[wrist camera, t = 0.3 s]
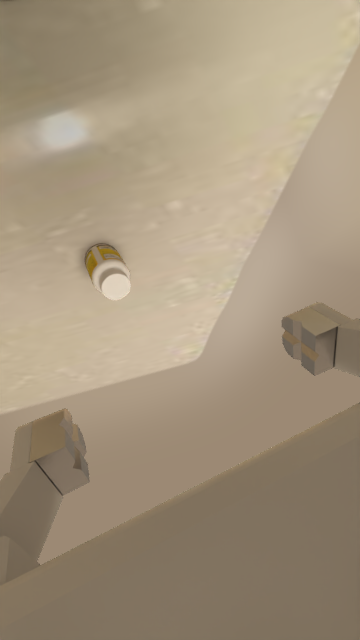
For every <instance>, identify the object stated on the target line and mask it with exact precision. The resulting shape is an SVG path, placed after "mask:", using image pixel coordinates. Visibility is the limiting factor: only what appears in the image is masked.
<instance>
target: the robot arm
mask: <svg viewBox="0 0 360 640" xmlns="http://www.w3.org/2000/svg"><path fill="white" fill-rule="evenodd" d="M282 327H283V328H284V329H285V332H284V334H283V336H282V341H283V345H284V348H285V350H286V351H287V353H288V354H289V355H290V356H291V357H292V358H293V359H298V360H301V364H302V366H303V367H304V368H305V369H307V370H308V371H309V372H310V373H311V374H313V375H314V376H316V375H318V374H320V373H322V372H325V371H327V370H329V369H332V368H334V367H335V369H338V370H341V371H344V372H347V373H350V374H353V375H355V376H359V377H360V319H355V320H353V319H351V318H348V317H347V316H345V315H343V314H341V313H340V312H338V311H336V310H334V309H332V308H330V307H328V306H326V305H325V304H323V303H319V302H317V303H314V304H312V305H310V306H308V307H306V308H304V309H301V310H299V311H297V312H294V313H292V314H290V315H288V316H285V317H283V319H282ZM85 454H86V446H85V442H84V439H83V435H82V433H81V431H80V429H79V427H78V425H76V424H73V423H72V416H71V414H70V412H69V411H68V409H62V410H59V411H57V412H54V413H52V414H49V415H47V416H44V417H42V418H39V419H37V420H34V421H32V422H30V423H27V424H25V425H22V426H20V427H18V428H17V429H16V431H15V437H14V445H13V452H12V460H11V467H10V472H9V473H7V474H5V475H4V476H3V478H2V479H1V480H0V640H360V403H358V404H356V405H354V406H352V407H350V408H348V409H346V410H344V411H342V412H340V413H338V414H336V415H334V416H333V417H330V418H328V419H326V420H324V421H322V422H320V423H319V424H317V425H315V426H313V427H311V428H309V429H307V430H305V431H303V432H301V433H299V434H297V435H295V436H293V437H291V438H289V439H287V440H285V441H283V442H281V443H279V444H277V445H275V446H274V447H272V448H270V449H268V450H266V451H264V452H262V453H260V454H258V455H256V456H254V457H252V458H250V459H248V460H246V461H244V462H242V463H240V464H238V465H236V466H234V467H232V468H230V469H228V470H226V471H224V472H222V473H221V474H219V475H217V476H215V477H213V478H211V479H209V480H207V481H205V482H203V483H201V484H199V485H197V486H195V487H193V488H191V489H189V490H187V491H185V492H183V493H181V494H179V495H177V496H175V497H174V498H172V499H169V500H168V501H166V502H164V503H162V504H160V505H158V506H156V507H154V508H152V509H150V510H148V511H146V512H144V513H142V514H140V515H138V516H136V517H134V518H132V519H130V520H128V521H126V522H124V523H122V524H120V525H119V526H117V527H115V528H113V529H111V530H109V531H107V532H105V533H103V534H101V535H99V536H97V537H95V538H93V539H91V540H89V541H87V542H85V543H83V544H81V545H79V546H77V547H75V548H74V549H71V550H70V551H68V552H66V553H64V554H62V555H60V556H58V557H56V558H54V559H52V560H50V561H48V562H46V563H44V564H42V565H40V564H39V563H38V562H37V560H38V558H39V555H40V553H41V551H42V548H43V546H44V543H45V541H46V538H47V535H48V533H49V531H50V529H51V526H52V523H53V521H54V519H55V516H56V514H57V511H58V509H59V507H60V504H61V502H62V499H63V495H65V494H67V493H69V492H71V491H73V490H75V489H77V488H79V487H81V486H83V485H85V484H87V483H89V471H88V464H87V462H86V460H85V459H84V455H85Z"/></svg>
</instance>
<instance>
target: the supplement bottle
mask: <svg viewBox="0 0 360 640" xmlns="http://www.w3.org/2000/svg"><path fill="white" fill-rule="evenodd" d="M85 264H86V267H87V270H88V272H89V275H90V277H91V280H92V283H93V285H94V287H95V288H96V289H97V290H98V291H99V292H100V293H102V294H103V295H104V296H105V297H106V298H108V299H110V300H119V299H122V298H124V297H125V296H126V295H127V294H128V293H129V291H130V288H131V283H130V272H129V269H128V267H127V266H126V264H125V263H124V261H123V260H122V258H121V257H120V255H119V253H118V252H117V251H116V250H115V249H114V248H113V247H112V246H110V245H107V244H98V245H95V246H93V247H92V248H91V249H90V250H89V251H88V252H87V254H86V257H85Z"/></svg>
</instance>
